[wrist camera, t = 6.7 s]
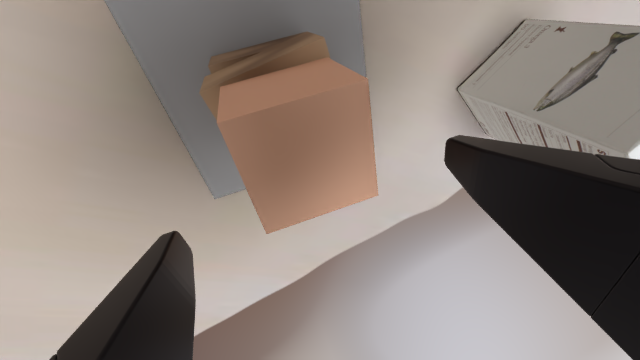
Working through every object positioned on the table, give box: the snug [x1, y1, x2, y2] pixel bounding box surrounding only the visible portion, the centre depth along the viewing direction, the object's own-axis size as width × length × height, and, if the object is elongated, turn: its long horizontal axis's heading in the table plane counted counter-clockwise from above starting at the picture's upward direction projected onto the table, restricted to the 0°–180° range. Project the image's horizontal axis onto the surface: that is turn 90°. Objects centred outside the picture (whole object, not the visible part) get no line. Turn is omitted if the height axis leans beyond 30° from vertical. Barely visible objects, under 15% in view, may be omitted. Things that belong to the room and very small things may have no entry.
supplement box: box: [458, 19, 640, 160], centre depth 19 cm, size 7×7×13 cm
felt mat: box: [104, 0, 366, 199], centre depth 19 cm, size 14×14×1 cm
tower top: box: [199, 31, 331, 120], centre depth 15 cm, size 6×6×3 cm
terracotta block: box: [217, 57, 378, 234], centre depth 12 cm, size 5×5×4 cm
